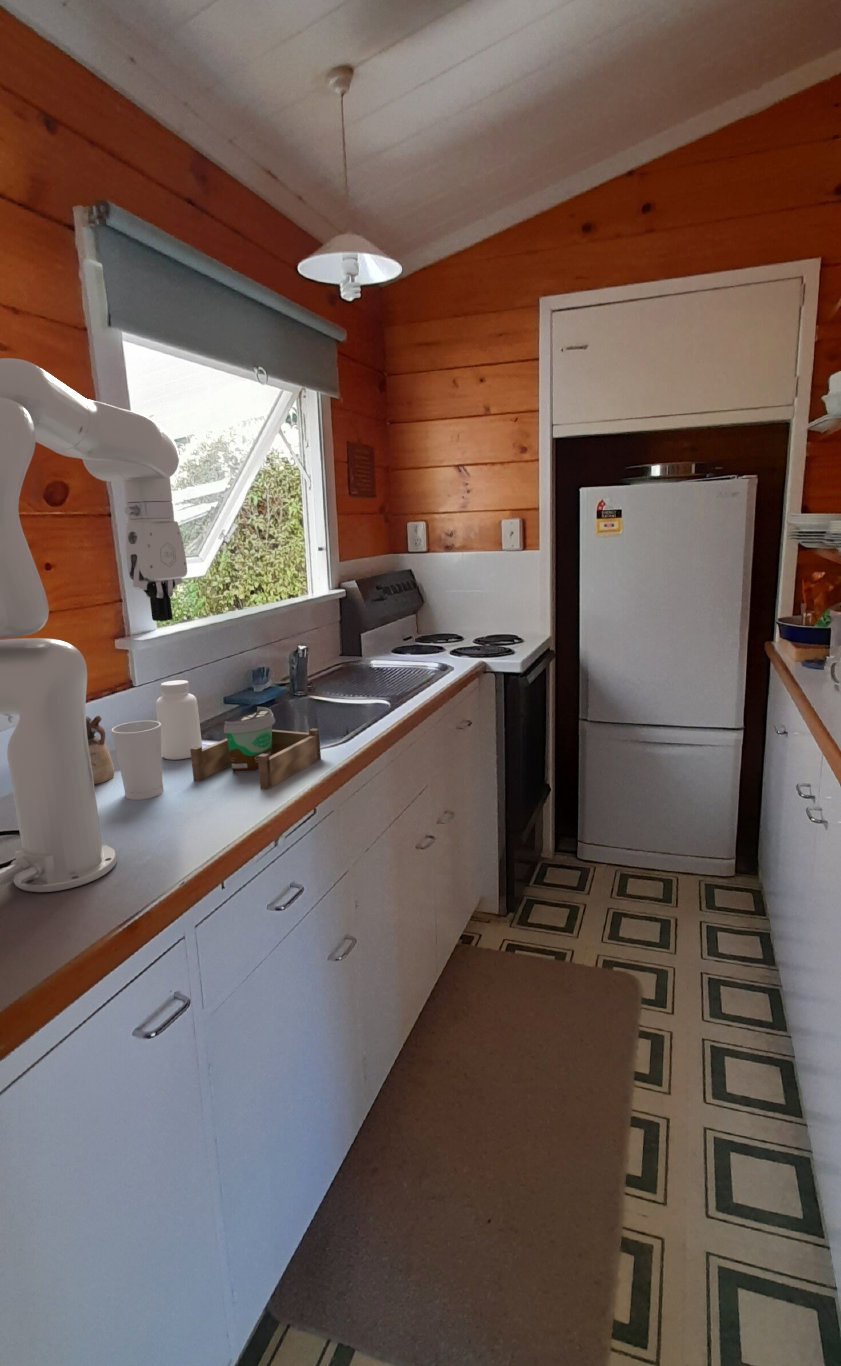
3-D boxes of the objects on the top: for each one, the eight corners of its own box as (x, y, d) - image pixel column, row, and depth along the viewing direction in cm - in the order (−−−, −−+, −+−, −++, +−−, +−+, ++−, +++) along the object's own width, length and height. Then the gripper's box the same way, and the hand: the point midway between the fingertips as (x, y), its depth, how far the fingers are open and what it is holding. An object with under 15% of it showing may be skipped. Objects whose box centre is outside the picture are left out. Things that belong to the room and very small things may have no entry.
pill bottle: (191, 746, 155) (184, 676, 152) (209, 754, 150) (202, 681, 146) (155, 755, 150) (146, 683, 147) (172, 763, 144) (163, 688, 141)
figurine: (84, 772, 141) (76, 711, 138) (121, 772, 140) (113, 710, 138) (65, 786, 134) (56, 722, 131) (104, 785, 133) (95, 721, 131)
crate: (267, 789, 128) (264, 756, 126) (193, 780, 134) (190, 748, 133) (320, 758, 144) (318, 728, 143) (252, 751, 150) (250, 722, 149)
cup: (137, 784, 133) (129, 720, 131) (177, 785, 131) (169, 720, 129) (110, 800, 125) (101, 732, 123) (152, 802, 124) (144, 733, 121)
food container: (256, 776, 135) (252, 724, 133) (228, 774, 137) (222, 722, 135) (290, 756, 146) (286, 707, 144) (262, 754, 148) (258, 706, 146)
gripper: (135, 513, 118) (148, 626, 122) (197, 512, 132) (207, 615, 136) (100, 514, 121) (114, 625, 125) (164, 514, 135) (175, 614, 138)
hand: (162, 619), depth 130 cm, fingers closed
